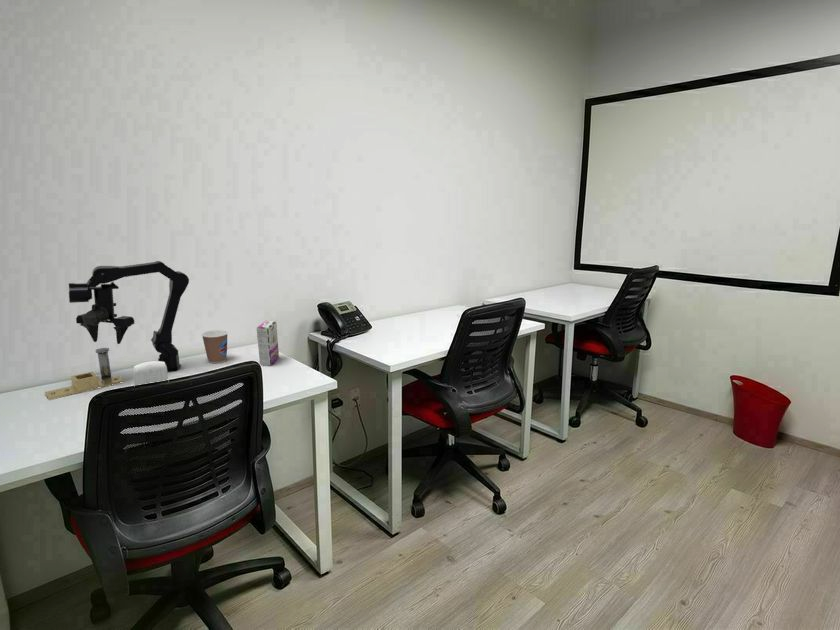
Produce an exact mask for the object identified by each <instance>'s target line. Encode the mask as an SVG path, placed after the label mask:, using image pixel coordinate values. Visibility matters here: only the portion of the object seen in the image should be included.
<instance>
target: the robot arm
mask: <svg viewBox="0 0 840 630" xmlns="http://www.w3.org/2000/svg"><path fill="white" fill-rule="evenodd" d="M155 273H159V274H160V275H161V274H162V275H163V276H164V277H165V278H167V279H169V282H168V287H169V288H168V289H169V294H168V297H167V302H166V305H165V309H164V312H163V316H162V319H161V324H160V327H159V328H158V330H153V332H152V337H151V339H150V341H151V342H152V346H153V348H154V350H155V351H156V352H157V353H159V355H158V359H157V361H162V362H165V365H166V367H167V372H176V371H178V370H179V369H180V368H181V366H182V364H180V356H179V350H178V349H177V347H176V346H175V345H174V344H173V335H172V333H173V329H174V328H173V327H174V323H175V319H176V315H177V312H178V309H179V305H180V301H181V298H182V295H184V293H185V291H186V289H187V288H188V285H189V283H190V279H189V277H188V275H186V273H184V272H182V271H180V270H179V271H178V270H177V271H175V270H174V269H172V268H171V267H169V266H168V265H166V264H165V263H164V262H163V261H161V260H156V261H153V262H145V263H137V264H130V265H123V266H115V265H99V266H96V267H94V268H93V269H92V272H91V274H92V275H91V277H89V278H88V280H87V282H84V283H74V282H70V283H68V299H69V301H68V302H69V304H72V303H89V301H91V300H93V296H94V304H91V310H88V311H87V312H86V313H83V314H78V315H77V316H76V318H75V321H76V324H79V326H82V327H83V328H85V329H86V331H87V332H88V334H89V335H90V337H91V339H92V342H93V343H96V342H98V338H99V324H100V323H108V324H113V325H114V326H113V329H114V331H115V335H116V344H117V345H119V344H121V343H122V340H123V339H124V336H125V334H126V332H127V330H129V328H130V327H131V326H132V325H135V319H134V317H133V316H127V315H122V316H119V317H118V314H117V313H115V307H117V302H115V301H114V291H113V290H118V289H120V288H119V286H118V285H117V284H116V283H115V281H117V280H120V279H123V278H127V277H134V276H141V275H142V276H143V275H148V274H155ZM92 290H93V293H92Z"/></svg>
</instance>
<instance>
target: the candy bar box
mask: <svg viewBox="0 0 840 630" xmlns="http://www.w3.org/2000/svg"><path fill="white" fill-rule="evenodd" d="M277 327H278V326H277V320H265V321H263V322H262V323H261V324H260V325H259V326H257V327H256V336H257V345H258V346H257V347H258V357H259V365H260V364H261V365H263V366H262V367H264V365H271V366H273V364H275V362H276V361H277V360H278V359H279V358H280V353H279V341H278V330H277Z"/></svg>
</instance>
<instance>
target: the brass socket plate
mask: <svg viewBox="0 0 840 630" xmlns="http://www.w3.org/2000/svg"><path fill="white" fill-rule="evenodd" d="M70 379H71V385H70V386H65V387H62V388H57V389H56V388H55V389H51V390H47V391H44V395H45V397H46V398H47V397H48V398H47V399H48V400H49V401H50V399H51V400H55V398H56V399H59V397H60V398H62V397H63V396H64V397H68V396H72V395H71V394H73V395H76V394H75V393H77V394H79V393H78V392H81V393H83V392H82V391H85V392H88V391H87V390H89V391H92V390H91V389H93V390H96V389H95V388H98V387H103V388H105V387H104V386H107V387H110V386H109V385H111V386H113V385H112V384H116V385H118V384H117V383H120V382H124V383H125V379H123V378H122V377H121V376H119V375H115V376H111V377H110V378H105V379H99V378H98V375H97V374H96V373H95V372H93V371H90V372H85V373H79V374H75V375H71V376H70ZM120 384H121V383H120ZM98 389H99V388H98ZM67 395H68V396H67ZM64 397H63V398H64Z"/></svg>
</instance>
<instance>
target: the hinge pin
mask: <svg viewBox="0 0 840 630" xmlns="http://www.w3.org/2000/svg"><path fill="white" fill-rule="evenodd" d="M109 351H110V348H109V347H101V348H97V349H95V353H96V354H97V359H98V364H99V365H98V366H99V371H100V378H101V379H105V378H110V377H112V370H111V364H110V358H109ZM101 379H100V380H101Z"/></svg>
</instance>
